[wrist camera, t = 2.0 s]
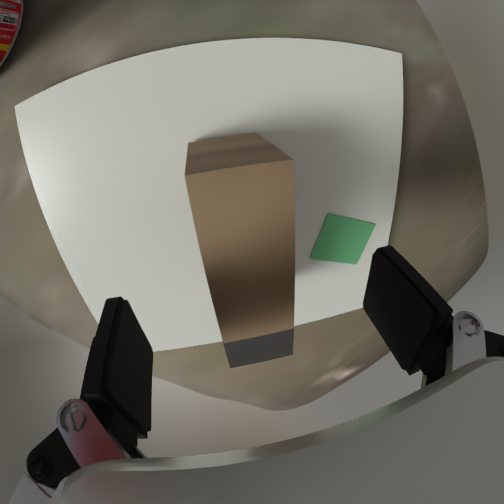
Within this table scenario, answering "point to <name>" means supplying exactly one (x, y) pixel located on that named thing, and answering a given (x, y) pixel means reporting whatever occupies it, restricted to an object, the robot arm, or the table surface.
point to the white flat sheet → (174, 161)
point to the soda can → (9, 25)
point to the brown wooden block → (246, 241)
